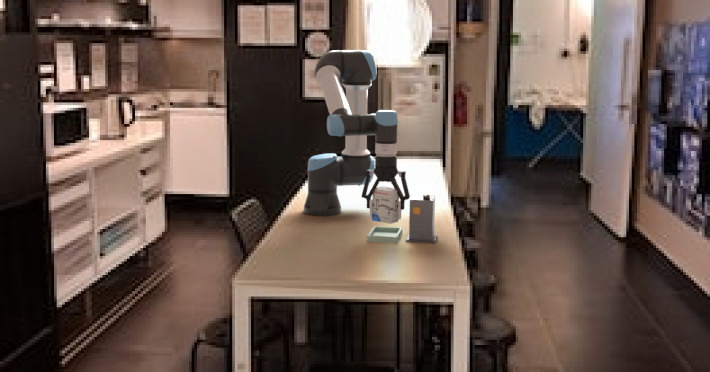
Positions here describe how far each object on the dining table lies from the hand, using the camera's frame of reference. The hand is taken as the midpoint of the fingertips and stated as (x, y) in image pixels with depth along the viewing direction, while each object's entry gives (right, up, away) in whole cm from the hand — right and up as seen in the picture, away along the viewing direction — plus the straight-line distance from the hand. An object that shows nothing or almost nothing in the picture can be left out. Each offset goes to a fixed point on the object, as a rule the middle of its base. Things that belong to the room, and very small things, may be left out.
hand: (385, 218), depth 276 cm
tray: (0, -7, +1) cm, 7 cm away
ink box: (0, -1, 0) cm, 1 cm away
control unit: (+13, -7, -1) cm, 15 cm away
